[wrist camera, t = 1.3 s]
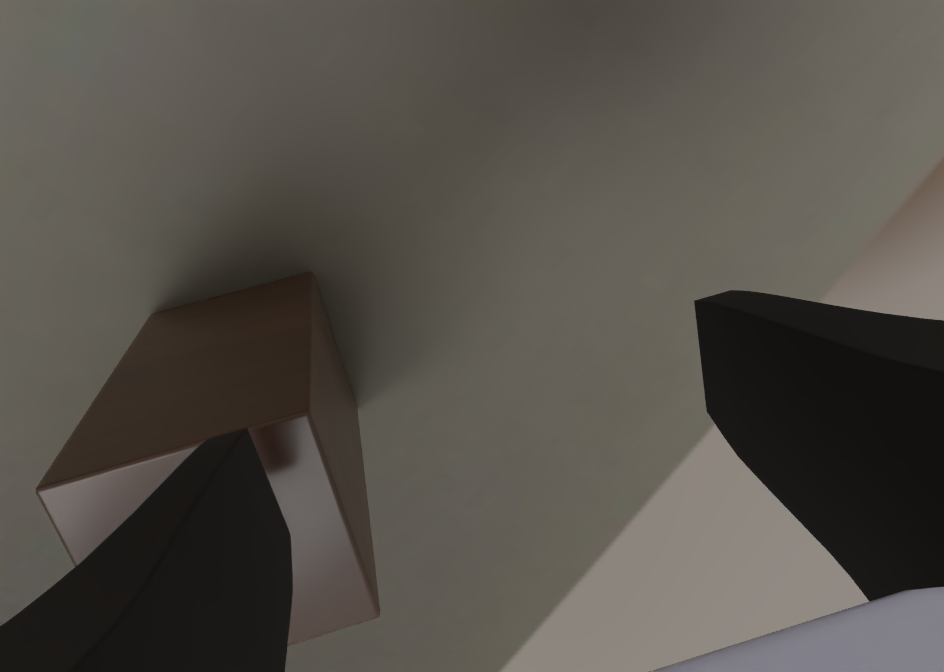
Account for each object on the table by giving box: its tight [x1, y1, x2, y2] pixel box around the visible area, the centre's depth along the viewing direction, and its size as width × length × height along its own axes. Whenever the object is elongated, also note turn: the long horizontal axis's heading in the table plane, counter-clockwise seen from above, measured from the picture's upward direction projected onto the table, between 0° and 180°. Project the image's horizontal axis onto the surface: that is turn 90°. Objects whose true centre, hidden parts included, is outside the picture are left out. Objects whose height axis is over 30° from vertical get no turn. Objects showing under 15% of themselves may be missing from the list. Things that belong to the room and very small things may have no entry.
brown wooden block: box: [36, 272, 380, 646], centre depth 17 cm, size 4×4×9 cm
